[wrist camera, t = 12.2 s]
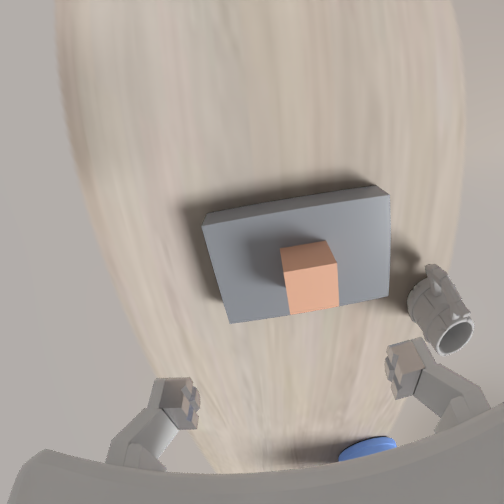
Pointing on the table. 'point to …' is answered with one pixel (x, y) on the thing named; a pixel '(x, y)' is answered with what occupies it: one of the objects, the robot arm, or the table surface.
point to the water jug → (367, 448)
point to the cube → (310, 277)
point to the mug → (440, 312)
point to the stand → (298, 233)
